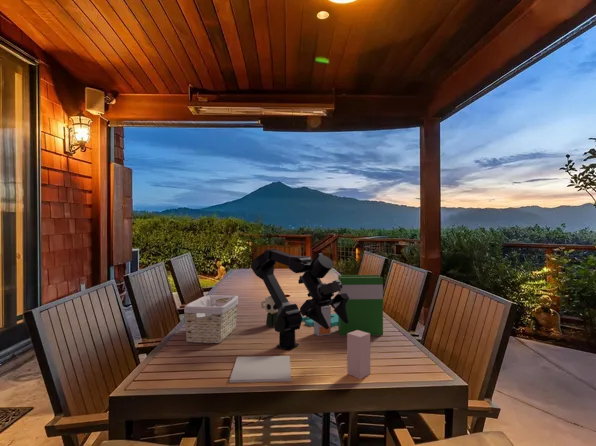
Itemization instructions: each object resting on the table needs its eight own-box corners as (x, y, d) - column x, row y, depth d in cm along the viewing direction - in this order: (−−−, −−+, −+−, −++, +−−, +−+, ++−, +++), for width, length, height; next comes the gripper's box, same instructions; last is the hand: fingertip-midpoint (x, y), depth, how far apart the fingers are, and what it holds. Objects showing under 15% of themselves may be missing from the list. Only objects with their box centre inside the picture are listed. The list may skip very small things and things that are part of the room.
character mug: (259, 327, 158) (259, 298, 158) (262, 323, 165) (262, 295, 165) (284, 328, 158) (284, 298, 158) (285, 323, 165) (285, 295, 165)
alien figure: (292, 321, 170) (322, 331, 155) (292, 316, 170) (322, 325, 155) (321, 314, 183) (351, 322, 168) (321, 310, 183) (351, 317, 168)
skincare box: (318, 336, 146) (318, 307, 146) (313, 333, 150) (313, 305, 150) (331, 334, 148) (331, 306, 148) (326, 331, 152) (326, 303, 152)
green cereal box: (378, 329, 155) (378, 274, 155) (383, 335, 148) (382, 277, 148) (338, 330, 155) (338, 275, 155) (340, 335, 147) (340, 277, 147)
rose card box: (347, 373, 110) (347, 333, 110) (357, 369, 113) (357, 329, 113) (360, 378, 106) (360, 337, 106) (370, 374, 109) (370, 333, 109)
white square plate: (237, 359, 122) (237, 356, 122) (289, 358, 122) (289, 355, 122) (229, 382, 104) (229, 379, 104) (291, 381, 104) (291, 378, 104)
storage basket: (205, 326, 161) (205, 294, 161) (240, 327, 159) (240, 294, 159) (182, 344, 137) (182, 306, 137) (222, 345, 136) (222, 307, 136)
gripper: (306, 274, 112) (330, 317, 104) (345, 269, 124) (370, 307, 116) (290, 295, 118) (312, 336, 110) (329, 288, 130) (351, 325, 122)
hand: (337, 325), depth 114 cm, fingers open, 9 cm apart
